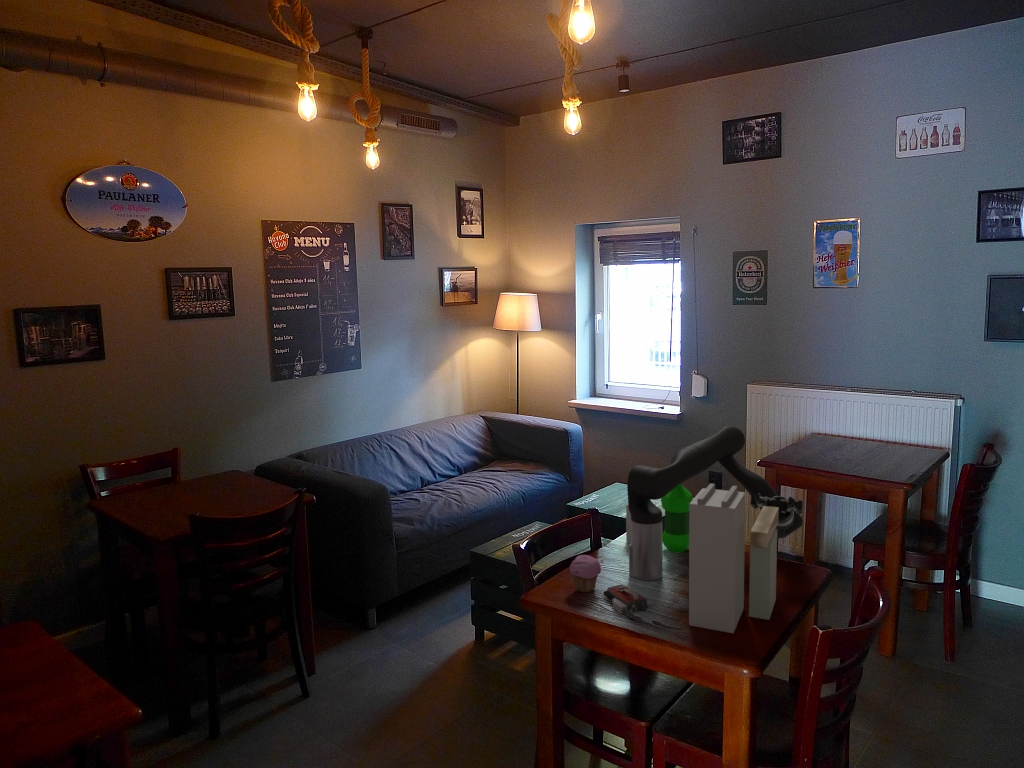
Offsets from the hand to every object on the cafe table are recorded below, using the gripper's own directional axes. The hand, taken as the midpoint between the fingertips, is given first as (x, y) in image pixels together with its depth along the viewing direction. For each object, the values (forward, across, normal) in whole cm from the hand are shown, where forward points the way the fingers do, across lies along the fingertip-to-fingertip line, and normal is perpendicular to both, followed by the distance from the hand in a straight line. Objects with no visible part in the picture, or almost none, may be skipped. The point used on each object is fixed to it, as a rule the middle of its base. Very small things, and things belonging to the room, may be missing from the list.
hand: (774, 498), depth 205 cm
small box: (-28, -45, +13) cm, 54 cm away
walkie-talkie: (+16, -32, +38) cm, 53 cm away
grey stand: (+13, -10, +36) cm, 39 cm away
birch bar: (+12, 0, +13) cm, 17 cm away
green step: (+4, 0, +31) cm, 31 cm away
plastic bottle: (-25, -32, +15) cm, 43 cm away
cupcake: (+10, -48, +35) cm, 60 cm away
